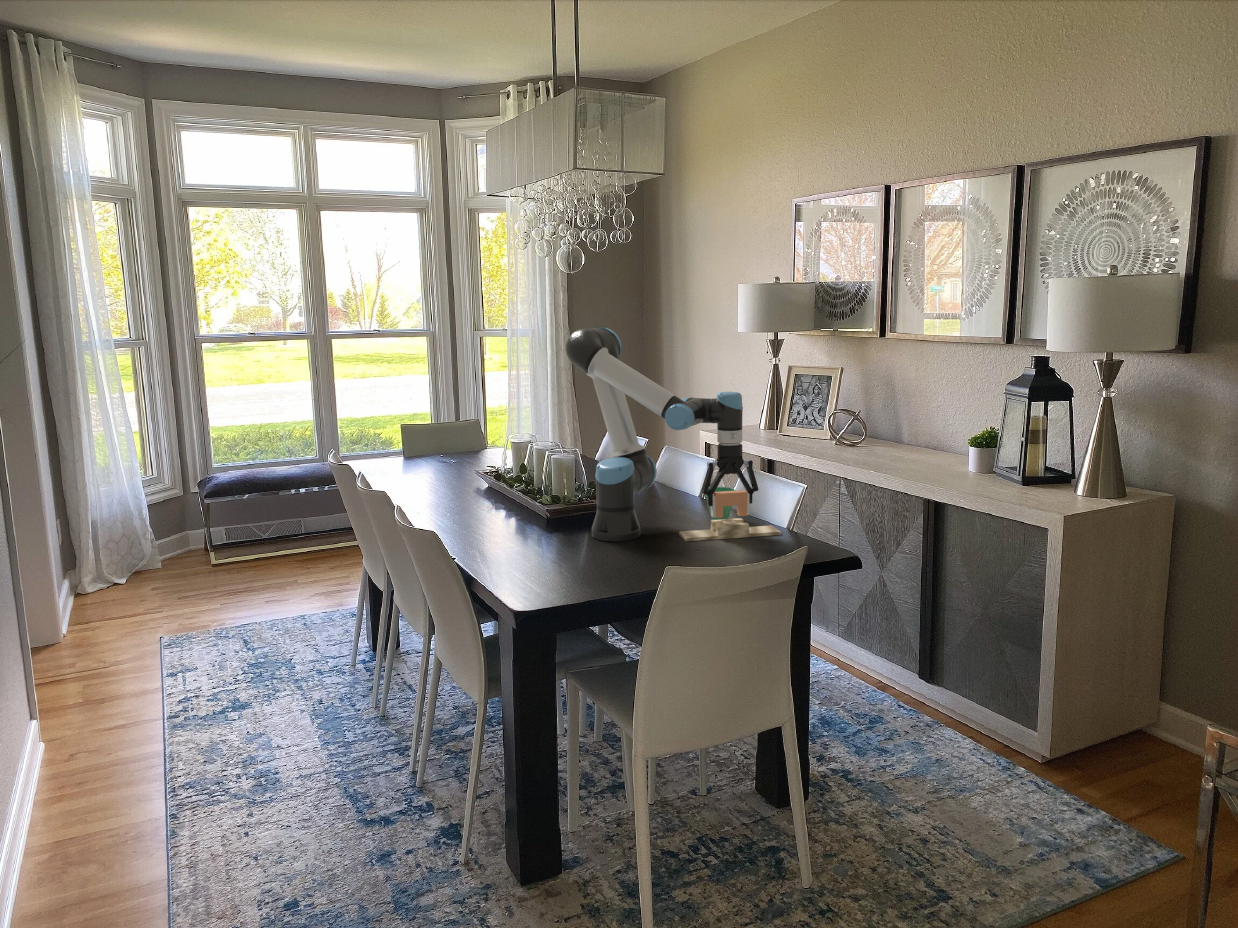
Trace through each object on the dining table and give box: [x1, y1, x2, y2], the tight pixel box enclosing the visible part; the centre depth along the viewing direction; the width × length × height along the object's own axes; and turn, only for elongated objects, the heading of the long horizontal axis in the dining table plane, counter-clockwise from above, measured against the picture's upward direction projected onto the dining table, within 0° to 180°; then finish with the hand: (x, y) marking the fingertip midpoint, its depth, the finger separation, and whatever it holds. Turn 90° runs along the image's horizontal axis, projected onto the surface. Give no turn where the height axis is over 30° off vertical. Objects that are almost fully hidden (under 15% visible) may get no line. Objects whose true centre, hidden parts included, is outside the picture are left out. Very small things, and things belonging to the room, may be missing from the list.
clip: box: [713, 489, 748, 518], centre depth 282 cm, size 10×3×8 cm, turn 100°
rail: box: [678, 517, 782, 542], centre depth 283 cm, size 30×8×4 cm, turn 100°
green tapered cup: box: [704, 486, 736, 520], centre depth 303 cm, size 15×10×10 cm
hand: (730, 515), depth 282 cm, fingers closed on clip, 10 cm apart
